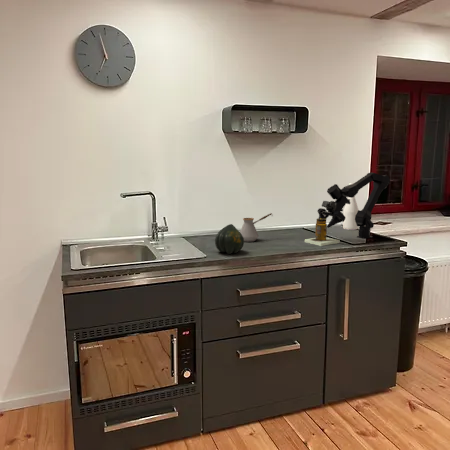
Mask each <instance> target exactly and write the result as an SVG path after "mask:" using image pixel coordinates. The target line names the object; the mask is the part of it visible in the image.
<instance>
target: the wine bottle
mask: <svg viewBox="0 0 450 450" xmlns="http://www.w3.org/2000/svg"><path fill="white" fill-rule="evenodd" d="M354 183H355V182H349V184H348V185H351V184H354ZM355 196H356V195H355ZM355 196H354V197H352V198H351V197H347V199H350V204H346V205H345V206H344V207H343V211H342V213H343V215H344V216H345V220H344V222H342V228H343V229H344V230H349V231H355V230H359V226H357V225H356V222H355V217H356V216H355V215H356V214H357V212H358V210H359V207H358V204H357V201H356V197H355Z"/></svg>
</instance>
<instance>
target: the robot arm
mask: <svg viewBox="0 0 450 450" xmlns="http://www.w3.org/2000/svg"><path fill="white" fill-rule="evenodd" d="M371 182H373V183H372V185H373V189H372V190H371V192H370V194H369V196H368V198H367V200H366V202H365V204H364V206H363V208H362V209H361V210H359V209H358V212H357V214H356V215H355V216H356V217H355V222H356V225H357V226H358V235H356V238H360V239H370V238H371V239H372V238H373V236H372V235H371V230H372V229H373V228H374V225H375V224H374V223H373V221H372V211H373V209H374V207H375V205H376V204H377V202H378V200H379V197H380V195H381V193H382V192H383V191H384V190H385V189H386V188H387V187H388V186H389V184H390V182H391V179H390V176H388V175H386V174H385V175H382V174H378V173H376V172H368V173H366V175H364V176H362V177H361V178H360V179H358V180H357V181H355V182H353V183H354V184H351V185H349V184H348V185H345V186H344V187H342V188H340V187H339V185H338V183H337V184H335V183H334V184H333V185H331V186H330V187H328V188H327V190H326V192H327V194H328V195H329V196H330V198H332V199H333V200H334V201H333V200H331V201H327V200H323V201H322V204H321V208H320V207H319V208H318V209H317V210H316V211H317V214H318V218H324V219H326V220H327V218H329V217H331V220H330V221H329V222H328V223H327V228H328V229H329V228H331V227H333V226H335V225H338V224H339V223H343V222H344V220H345V216H344V215H343V211H344V208H345V205H346V204H350V199H348V197H351V198H352V197H354V196H356V195H358V193H359V191H360V190H361V189H362V188H364V187H366V186H367V185H369V184H370V183H371ZM323 207H324V208H323Z"/></svg>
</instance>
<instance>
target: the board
mask: <svg viewBox="0 0 450 450" xmlns="http://www.w3.org/2000/svg"><path fill="white" fill-rule="evenodd" d="M309 239H316V238H315V237H313V238H306V239H304V243H306V244H311V245H315V246H319V247H322V246H329V245H334V244H335V245H336V244H339V243H341V242H340V239H336V238H331V237H326V239H327V240H328V241H321V242H316V241H312V240H309Z"/></svg>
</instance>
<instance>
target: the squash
mask: <svg viewBox="0 0 450 450" xmlns="http://www.w3.org/2000/svg"><path fill="white" fill-rule="evenodd" d="M244 243H245V241H244V238H243V236H242V234H241V233H240V230H238V228H236V226H235V225H234V224H233V223H229V224H227V225H226V226H224V227H223V228H222V229H220V230H219V231H218V232H217V234H216V236H215V238H214V244H215V247H216V249H217V250H218V251H219V252H221V253H225V252H226V254H228V255H231V254H236V253H238V252H239V251H241V250H242V249H243V247H244Z"/></svg>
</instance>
